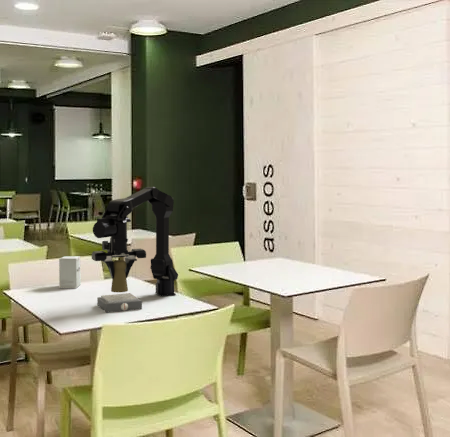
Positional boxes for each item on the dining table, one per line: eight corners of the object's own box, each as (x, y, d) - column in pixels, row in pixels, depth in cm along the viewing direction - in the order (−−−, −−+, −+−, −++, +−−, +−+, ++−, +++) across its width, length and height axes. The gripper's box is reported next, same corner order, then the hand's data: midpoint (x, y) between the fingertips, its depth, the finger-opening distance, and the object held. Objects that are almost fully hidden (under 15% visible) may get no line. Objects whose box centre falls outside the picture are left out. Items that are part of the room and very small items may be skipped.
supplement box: (76, 288, 256) (76, 258, 255) (59, 288, 256) (58, 258, 255) (81, 285, 264) (80, 256, 263) (63, 285, 264) (63, 255, 263)
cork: (124, 292, 219) (124, 262, 218) (108, 292, 221) (108, 261, 220) (130, 289, 225) (130, 259, 224) (114, 288, 226) (114, 259, 225)
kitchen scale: (131, 302, 232) (131, 292, 231) (142, 309, 220) (142, 298, 220) (97, 305, 226) (97, 295, 225) (106, 313, 215) (106, 302, 214)
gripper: (136, 231, 232) (137, 272, 234) (87, 234, 224) (88, 276, 226) (146, 235, 222) (146, 277, 224) (95, 237, 214) (96, 282, 216)
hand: (119, 278), depth 222 cm, fingers closed on cork, 4 cm apart
